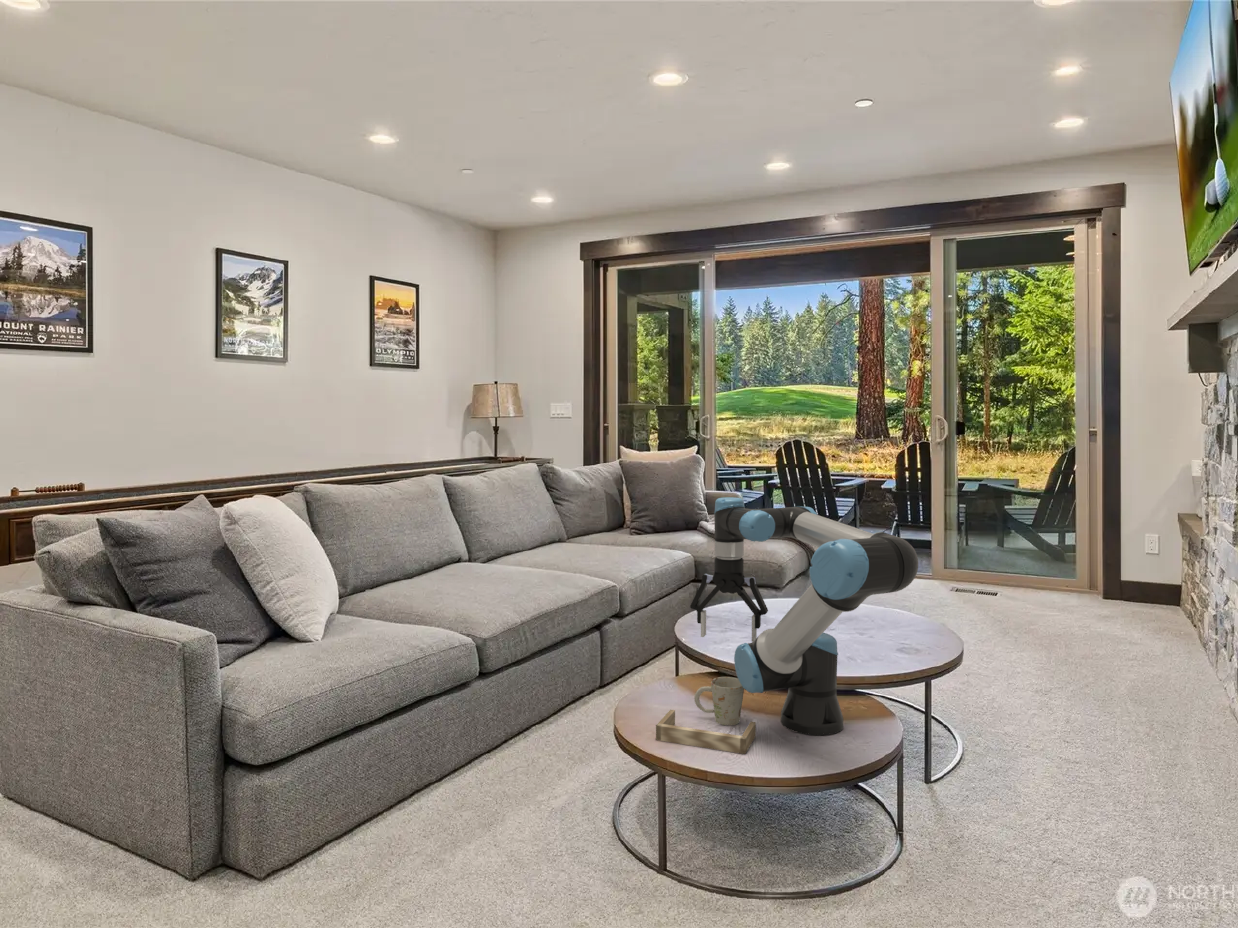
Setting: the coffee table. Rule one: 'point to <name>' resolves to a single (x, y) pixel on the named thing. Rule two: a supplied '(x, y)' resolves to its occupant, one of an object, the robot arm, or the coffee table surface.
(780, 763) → the coffee table surface
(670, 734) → the bay
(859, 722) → the coffee table surface
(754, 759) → the coffee table surface
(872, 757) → the coffee table surface
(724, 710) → the mug
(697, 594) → the robot arm
